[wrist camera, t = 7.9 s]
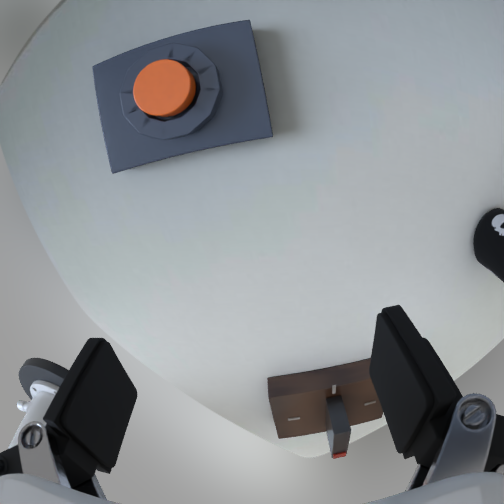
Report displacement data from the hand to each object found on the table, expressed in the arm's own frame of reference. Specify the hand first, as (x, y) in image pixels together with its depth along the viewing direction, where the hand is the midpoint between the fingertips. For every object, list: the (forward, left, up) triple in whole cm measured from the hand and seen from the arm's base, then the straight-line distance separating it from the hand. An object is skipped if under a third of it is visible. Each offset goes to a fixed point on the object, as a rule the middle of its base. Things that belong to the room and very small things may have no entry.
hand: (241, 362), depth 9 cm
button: (-3, +11, -12) cm, 16 cm away
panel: (+6, -23, -15) cm, 28 cm away
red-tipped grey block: (+6, -23, -12) cm, 27 cm away
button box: (-3, +11, -15) cm, 19 cm away
